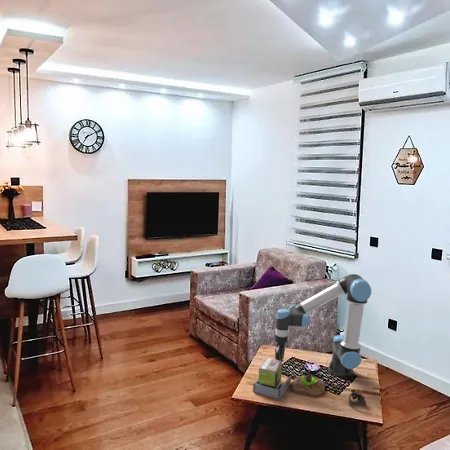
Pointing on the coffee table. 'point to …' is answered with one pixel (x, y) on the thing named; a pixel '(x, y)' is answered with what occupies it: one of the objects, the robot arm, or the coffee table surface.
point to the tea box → (270, 373)
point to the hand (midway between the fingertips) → (278, 371)
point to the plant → (308, 386)
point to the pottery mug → (358, 396)
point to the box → (271, 389)
